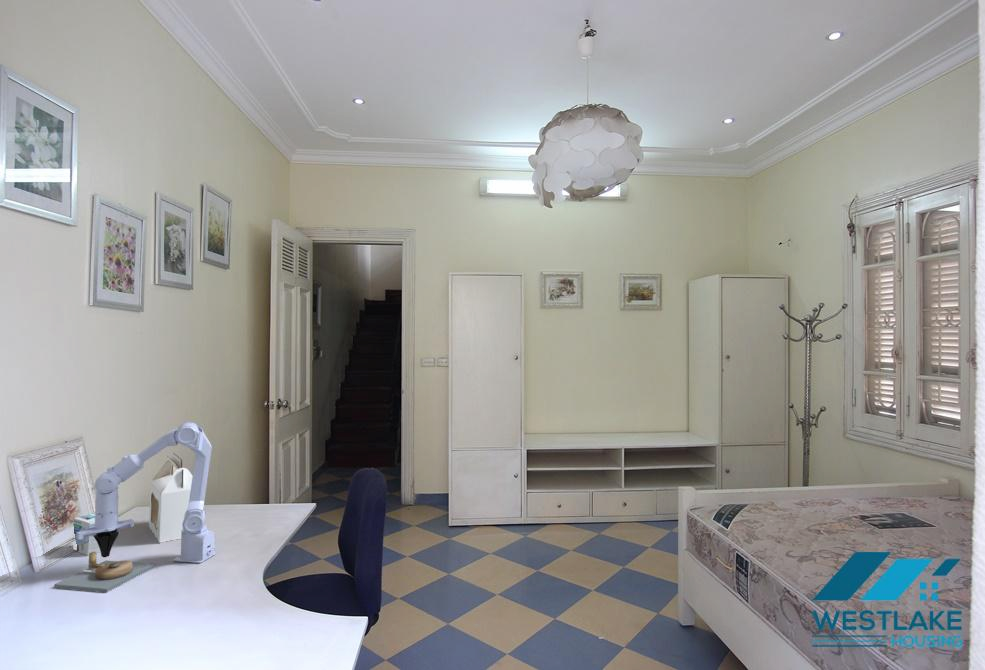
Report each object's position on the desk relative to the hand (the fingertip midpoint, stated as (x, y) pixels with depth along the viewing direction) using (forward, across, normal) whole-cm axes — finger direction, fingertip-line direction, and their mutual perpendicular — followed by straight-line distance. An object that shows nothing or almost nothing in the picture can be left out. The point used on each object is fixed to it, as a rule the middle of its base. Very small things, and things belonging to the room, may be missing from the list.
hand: (105, 556), depth 161 cm
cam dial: (+3, -1, -6) cm, 7 cm away
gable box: (+5, +29, +19) cm, 35 cm away
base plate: (+4, -2, -6) cm, 7 cm away
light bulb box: (+5, +4, +23) cm, 24 cm away
